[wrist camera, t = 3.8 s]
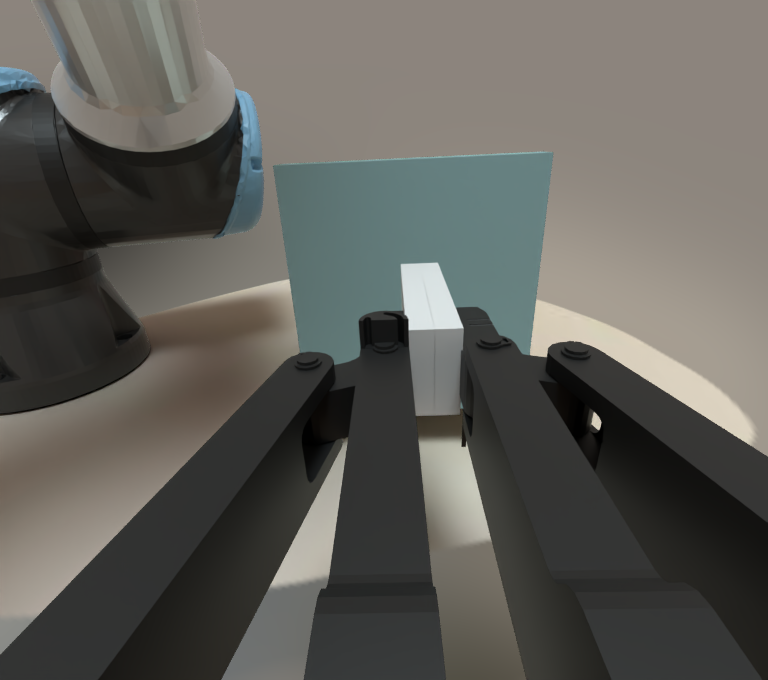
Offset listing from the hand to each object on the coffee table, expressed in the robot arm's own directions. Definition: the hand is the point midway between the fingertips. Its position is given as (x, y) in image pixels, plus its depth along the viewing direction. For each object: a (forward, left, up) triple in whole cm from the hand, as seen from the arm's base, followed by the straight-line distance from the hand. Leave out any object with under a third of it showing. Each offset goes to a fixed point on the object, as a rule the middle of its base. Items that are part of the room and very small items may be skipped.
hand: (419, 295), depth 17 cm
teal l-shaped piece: (-9, +10, -9) cm, 16 cm away
